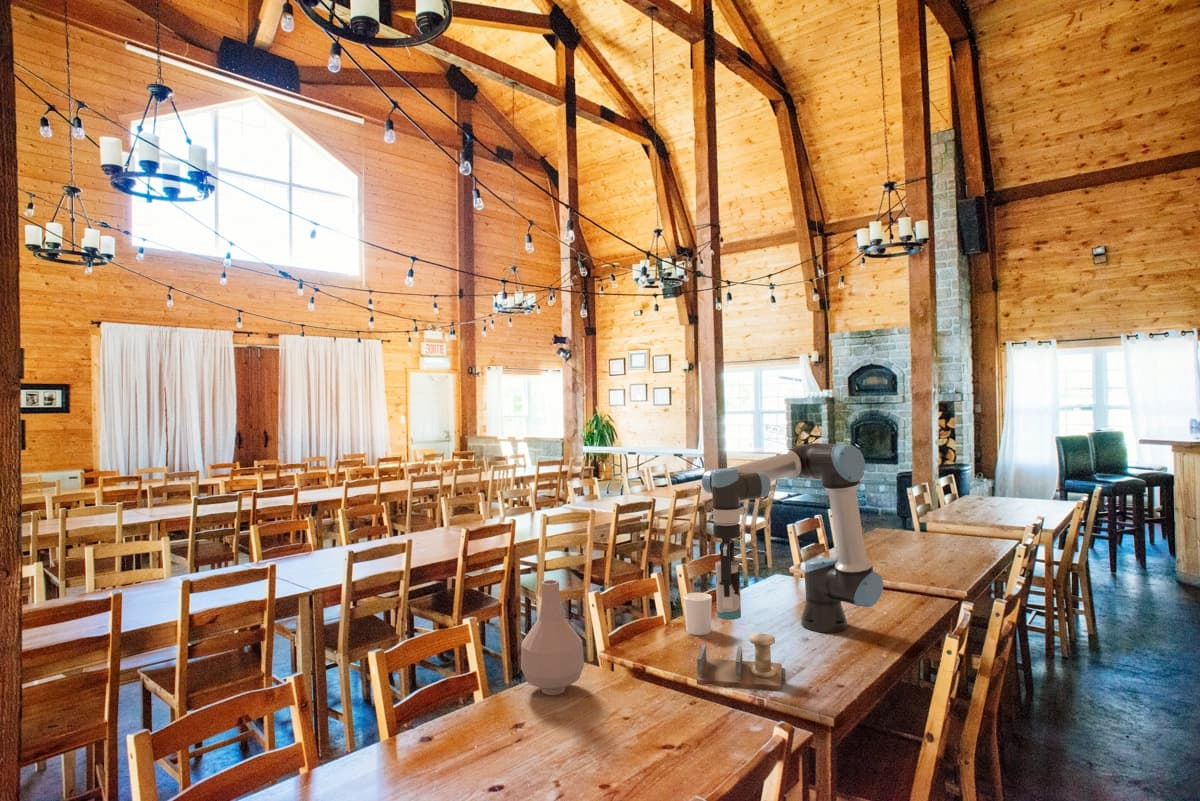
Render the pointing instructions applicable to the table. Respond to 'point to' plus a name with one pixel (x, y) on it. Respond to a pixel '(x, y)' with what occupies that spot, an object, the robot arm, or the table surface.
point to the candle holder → (698, 613)
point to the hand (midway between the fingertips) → (728, 603)
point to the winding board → (742, 667)
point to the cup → (735, 579)
